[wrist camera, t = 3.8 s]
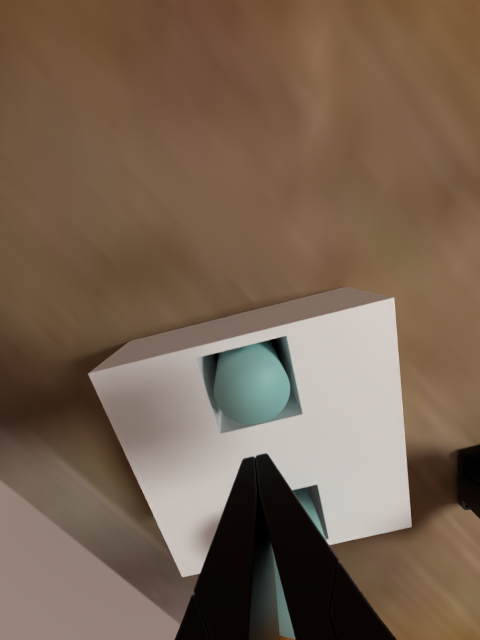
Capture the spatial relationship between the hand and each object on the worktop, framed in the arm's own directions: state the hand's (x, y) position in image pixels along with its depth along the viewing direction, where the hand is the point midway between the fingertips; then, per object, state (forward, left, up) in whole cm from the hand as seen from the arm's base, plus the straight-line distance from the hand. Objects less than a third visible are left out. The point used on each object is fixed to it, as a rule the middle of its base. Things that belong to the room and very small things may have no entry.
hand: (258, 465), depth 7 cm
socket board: (0, +5, -10) cm, 11 cm away
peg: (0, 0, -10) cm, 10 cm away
